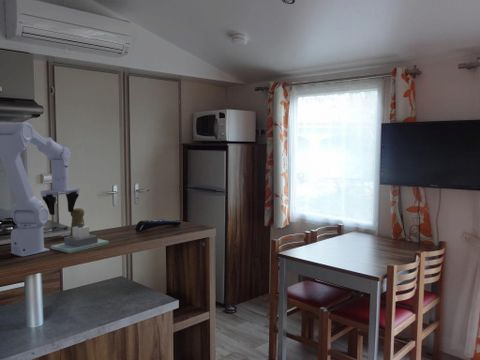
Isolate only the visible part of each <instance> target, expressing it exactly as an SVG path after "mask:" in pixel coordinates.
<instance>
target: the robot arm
mask: <svg viewBox="0 0 480 360" xmlns="http://www.w3.org/2000/svg"><path fill="white" fill-rule="evenodd" d="M30 143H31V144H32V145H35V146H36V148H37V150H38V152H41V153H42V154H43V155H45V156H46V157H47V159H48V160H49V161H50V165H51V166H50V167H51V188H52V189H47V190H40V196H41V199H42V200H43V201H44V202H43V201H42V200H40V199H38V198H37V197H35V195H34V192H33V189H32V186H31V183H30V181H29V177H28V175H27V172H26V169H25V166H24V162H23V159H22V157H21V153H22V152H24V151H25V150H26V148H27V147H28V145H29V144H30ZM71 155H72V153H71V151H70V149H69V148H68V147H67V146H65V145H64V146H63V145H61V144H60V143H58V142H56V141H55V140H53V138H52V137H50V136H46V137H43V136H42V135H40V133H38V132H37V131H36V130H35V129H34V126H33V125H31V124H30V123H29V122H27V121H25V122H24V121H23V122H0V161H1V163H2V167H3V169H4V172H5V174H6V178H7V179H8V182H9V185H10V188H11V190H12V194H13V195H14V199H15V202H14V203H13V205H12V206H11V208H10V209H11V211H12V212H11V213H12V221H13V223H14V224H16V227H17V228H14V229H12V230H11V231H10V249H11V251H10V254H11V253H12V255H15V256H19V257H27V256H30V255H31V256H32V255H35V254H36V255H37V254H39V253H44V252H49V251H50V249H51V248H46V247H45V238H44V226H45V225H46V223H47V221H48V220H49V215H51V216H54V215H55V210H56V209H55V208H56V207H55V206H56V205H55V203H56V199H57V197H56V196H57V195H58V196H59V195H65V196H66V197H65V198H66V201H67V212H68V213H70V212H73V209H75V204H76V202H77V200H78V198H79V195H80V194H79V193H80V188H79V187H69V185H70V184H69V166H70V160H71V157H72V156H71ZM44 203H45V205H46V207H45V205H44Z"/></svg>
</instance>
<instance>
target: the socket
mask: <svg viewBox="0 0 480 360" xmlns="http://www.w3.org/2000/svg"><path fill="white" fill-rule="evenodd" d="M98 237H99V236H98V235H96V234H95V235H94V234H90V233H89V237H87V238H82V239H75V238H73V236H70V235H69V236H65V237H64V242H63V243H59V244H53V245H50V249H51V250H54V251H59V252H63V253H67V254H71V253H75V252H76V253H77V252H80V251H84V250H88V249H93V248H96V247H99V246H100V247H101V246H106V245H108V244H109V243H110V241H109V240H106V239H101V238H98Z"/></svg>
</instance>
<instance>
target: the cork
mask: <svg viewBox="0 0 480 360" xmlns="http://www.w3.org/2000/svg"><path fill="white" fill-rule="evenodd" d="M69 213H70V214H69V215H70V216H71V225H70V233H69V234H70V235H69V236H73V231H72V227H77V226H78V223H80V222H83V223H84V226H86V225H85V220H84V216H85V210H84V209H83V208H78V207H77V208H74V209H73V212H69Z"/></svg>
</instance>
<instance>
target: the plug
mask: <svg viewBox="0 0 480 360" xmlns="http://www.w3.org/2000/svg"><path fill="white" fill-rule="evenodd" d="M84 225H85V222H84V223H83V222H80V223H78V226H77V227H72V231H73V238H75V239H82V238H87V237H89V234H90V226H88V225H87V226H86V225H85V226H84Z"/></svg>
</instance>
